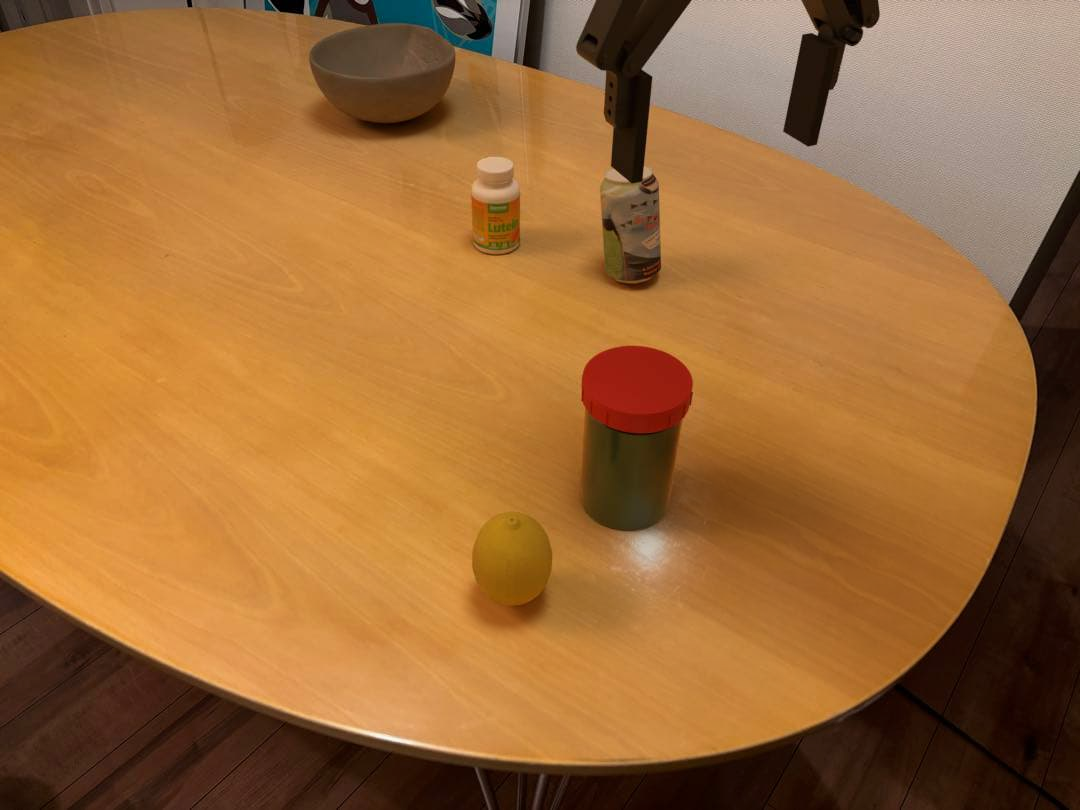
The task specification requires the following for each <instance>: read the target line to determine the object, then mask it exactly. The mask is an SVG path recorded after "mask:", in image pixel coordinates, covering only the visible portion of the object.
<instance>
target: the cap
mask: <svg viewBox="0 0 1080 810" xmlns="http://www.w3.org/2000/svg"><path fill="white" fill-rule="evenodd" d="M580 386H581V393H580V394H581V399H580V401H581V402H582V405H583V407H584V409H585V408H586V410H587V411H588V412H589V414H590V415H591V416H592V417H593V418H595V419H596V420H597V421H599V422H600V423H602V424H604V425H606V426H608V427H610V428H613V429H616V430H620V431H624V432H629V433H653V432H658V431H662V430H665V429H668V428H670V427H672V426H674V425H676V424H677V423H678V422H680V421H681V420H682V419H683V420H684V419H685V418H686V415H687V414H688V412H689V409H690V406H692V401H693V396H694V391H693V388H694V380H693V377H692V374H691V372H690V370H689V369H688V367H687V366H686V365H685V364H684V363H683V362H682V361H681V360H680V359H679V358H677V357H675V356H674V355H672V354H670V353H669V352H666V351H663V350H661V349H658V348H654V347H650V346H645V345H644V346H643V345H621V346H615V347H610V348H608V349H605V350H603V351H601V352H599V353H597V354H596V355H594V356H593V357H591V359H589V360H588V362H587V363H586V364H585V365H584V368H583V371H582V374H581V385H580Z"/></svg>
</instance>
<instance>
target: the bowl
mask: <svg viewBox="0 0 1080 810" xmlns="http://www.w3.org/2000/svg"><path fill="white" fill-rule="evenodd" d="M456 56H457V54H456V49H455V46H454V45H453V43H452V42H450V41H449V40H447V39H446V38H444V37H443V36H442V35H441V34H439V33H437V32H435V30H434V29H432V28H430V27H426V26H422V25H419V24H411V23H400V22H398V23H397V22H395V23H394V22H391V23H390V22H389V23H377V24H369V25H363V26H357V27H353V28H349V29H345V30H343V31H340V32H336V33H334V34H330V35H329V36H326V37H324V38H323V39H321V40H319V41H317V43H315V44H314V45H313V46H312V48H311V49H310V51H309V53H308V60H309V61H308V62H309V66H310V70H311V74H312V76H313V78H314V81H315V83H316V84H317V86H318V88H319V90H320V91H321V93H322V95H323V96H324V97H325V98H326V100H328V102H329V103H330V104H331V105H332V106H333V107H335V108H336V109H337V110H338V111H340V112H341V113H344V114H345V115H348V116H349V117H352V118H354V119H358V120H361V121H366V122H369V123H378V124H394V123H396V124H397V123H401V122H405V121H409V120H412V119H415V118H417V117H420V116H422V115H423V114H425V113H427V112H429V111H430V110H432V109H433V108H434V107H435V106H437V105H438V103H440V101H441V100H442V99H443V97H444V96H445V95H446V93H447V91H448V89H449V86H450V84H451V82H452V79H453V76H454V71H455V67H456Z"/></svg>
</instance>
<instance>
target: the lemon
mask: <svg viewBox="0 0 1080 810" xmlns="http://www.w3.org/2000/svg"><path fill="white" fill-rule="evenodd" d="M471 554H472V555H471V556H472V557H471V564H472V565H471V567H472V572H473V575H474V578H475V581H476V584H477V585H478V587H479V588H480V590H481V591H482V592H483V594H484V595H485V596H487V597H488V598H489V599H490V600H492V601H493V602H496V603H498V604H502V605H504V606H520V605H524V604H526V603H528V602H531V601H532V600H534V599H536V597H538V596H539V595H540V594H541V593H542V591H544V589H545V588H546V586H547V585H548V582H549V579H550V577H551V575H552V570H553V569H552V567H553V550H552V547H551V542H550V538H549V536H548V533H547V532H546V530H545V529H544V527H543V525H542V524H541V523H540V522H539V521H537V519H535V518H534V517H532V516H531V515H529V514H526V513H524V512H519V511H504V512H501V513H499V514H496V515H494V516H492V517H490V518H489V519H488V520H487V521H486V522H485V523H484V524H483V525H482V527H481V528H480V529H479V531H478V533H477V535H476V538H475V540H474V544H473V547H472V553H471Z"/></svg>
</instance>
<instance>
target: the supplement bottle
mask: <svg viewBox="0 0 1080 810" xmlns="http://www.w3.org/2000/svg"><path fill="white" fill-rule="evenodd" d="M514 176H515V168H514V163H513V161H512V160H510V159H509V158H506V157H504V156H488V157H484V158H482V159H479V160H478V162H476V177H477V178H476V179H475V180H474V182H472V185H471V188H470V189H471V190H470V192H471V193H470V196H471V197H470V198H471V221H472V223H471V224H472V243H473V245H474V247H475V248H476V249H477V250H478V251H480V252H482V253H485V254H489V255H504V254H505V255H506V254H508V253H510V252H513V251H514V250H516V249H517V248H519V245H520V241H521V187H520V184H519V182H518V181H517V180H516V179H514Z"/></svg>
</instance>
